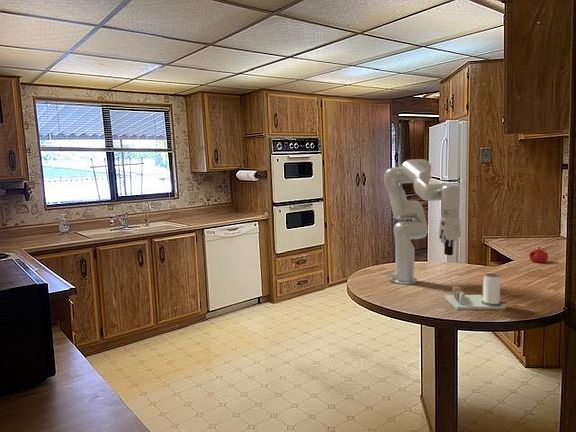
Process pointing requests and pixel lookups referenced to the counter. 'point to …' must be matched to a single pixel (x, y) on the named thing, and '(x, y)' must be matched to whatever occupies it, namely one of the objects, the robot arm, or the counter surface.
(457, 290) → the leg
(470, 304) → the board
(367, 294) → the counter surface
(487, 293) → the can
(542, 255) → the pomegranate
